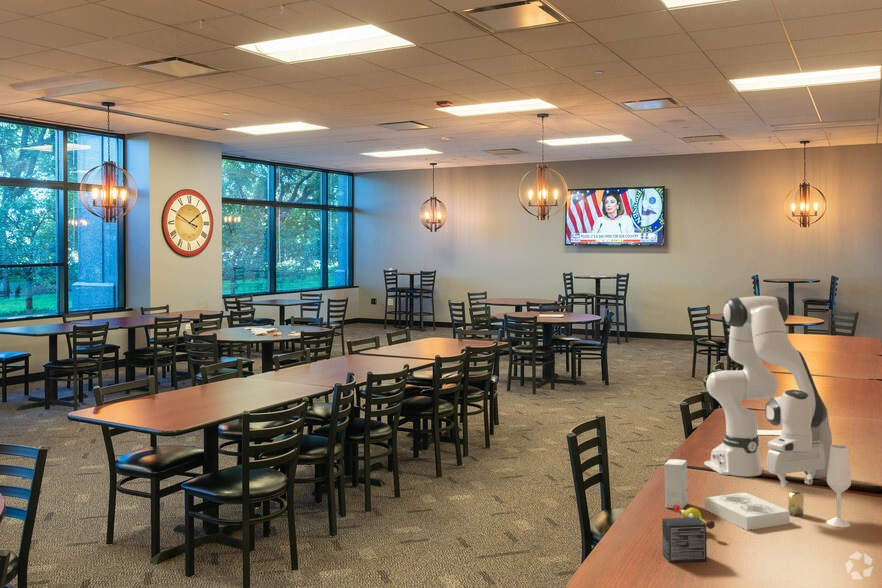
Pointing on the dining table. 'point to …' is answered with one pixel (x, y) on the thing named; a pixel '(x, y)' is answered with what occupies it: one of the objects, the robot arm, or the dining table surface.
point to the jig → (747, 511)
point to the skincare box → (676, 483)
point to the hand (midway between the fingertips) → (796, 485)
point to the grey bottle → (825, 437)
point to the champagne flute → (838, 479)
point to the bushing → (796, 503)
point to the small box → (684, 539)
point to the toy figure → (693, 515)
